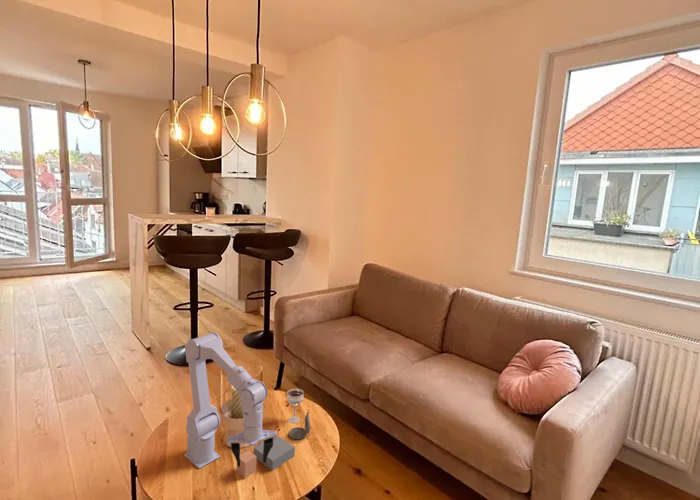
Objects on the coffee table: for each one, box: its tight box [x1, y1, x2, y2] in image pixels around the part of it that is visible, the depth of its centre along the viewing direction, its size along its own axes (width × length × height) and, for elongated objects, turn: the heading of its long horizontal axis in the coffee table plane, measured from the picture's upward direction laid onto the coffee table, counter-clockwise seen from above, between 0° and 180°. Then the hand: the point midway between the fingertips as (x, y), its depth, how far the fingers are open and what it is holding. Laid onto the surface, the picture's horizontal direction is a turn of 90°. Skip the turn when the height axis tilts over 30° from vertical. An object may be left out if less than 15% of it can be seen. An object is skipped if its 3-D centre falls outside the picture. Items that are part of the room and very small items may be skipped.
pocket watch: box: [288, 409, 311, 440], centre depth 151 cm, size 8×8×10 cm
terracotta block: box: [236, 449, 258, 479], centre depth 130 cm, size 4×4×6 cm
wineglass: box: [286, 387, 305, 424], centre depth 160 cm, size 7×7×12 cm
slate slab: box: [253, 435, 296, 472], centre depth 138 cm, size 10×10×4 cm
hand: (251, 462), depth 122 cm, fingers open, 7 cm apart
